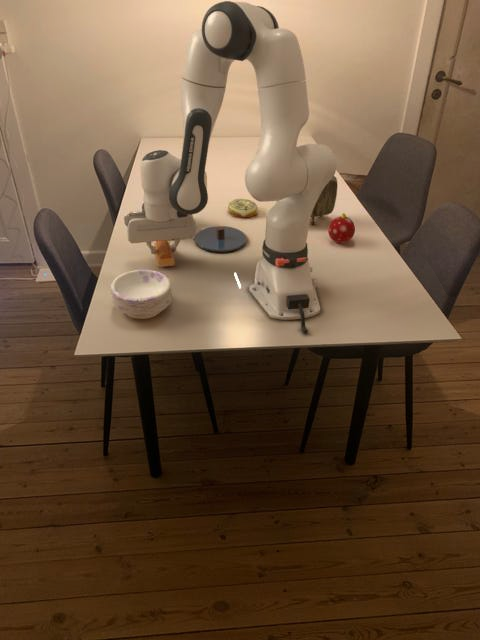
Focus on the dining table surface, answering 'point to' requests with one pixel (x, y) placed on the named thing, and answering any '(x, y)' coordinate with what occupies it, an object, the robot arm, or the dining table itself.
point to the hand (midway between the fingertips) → (164, 252)
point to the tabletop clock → (325, 200)
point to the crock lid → (220, 238)
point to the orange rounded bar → (164, 253)
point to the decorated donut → (242, 208)
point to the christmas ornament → (341, 229)
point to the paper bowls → (141, 293)
